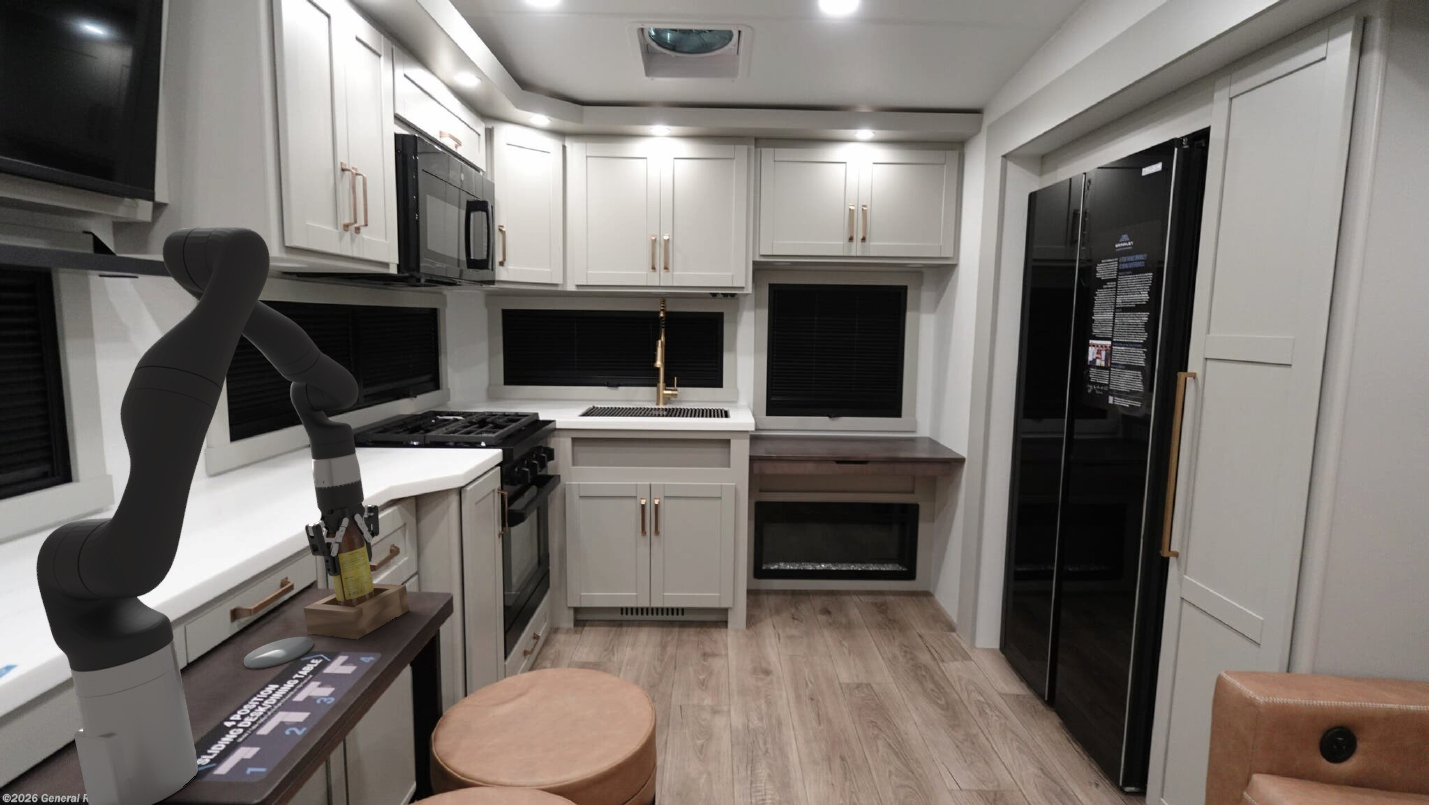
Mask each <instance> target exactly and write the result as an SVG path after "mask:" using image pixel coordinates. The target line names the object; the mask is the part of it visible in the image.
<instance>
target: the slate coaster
mask: <svg viewBox="0 0 1429 805" xmlns="http://www.w3.org/2000/svg"><path fill="white" fill-rule="evenodd" d="M313 646H314V640H313V639H312V638H311V637H308V636H294V637H287V638H283V639H279V640H276V641H273V642H269V643H266V644H264V645H262V646H260V647H257V648H256V649H254V650H252V651H250V652H249V653H248V654H247V655H246V656H245V657H244V658H243V664H244V666H245V668H247V669H253V670H255V669H257V670H258V669H265V668H267V669H268V668H273V667H275V666H279V665H283V664H285V663H288V662H291V661H294V660H296V659H298V658H300V657H302V656H304V655H305V654H307V653H308V652H310V651H311V649H312V648H313Z"/></svg>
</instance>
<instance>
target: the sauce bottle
mask: <svg viewBox="0 0 1429 805" xmlns="http://www.w3.org/2000/svg"><path fill="white" fill-rule="evenodd" d="M341 515H342V517H343V518H348V525H347V527H346V529H345V533H344V535H343V537H342V542H341V543H340V544H339V548H338V551H337V555H338V558H339V565H340V571H341V574H340V575H338V576H331V577H332V583H333V587H334V591H335V592H334V594H335V593H336V598H337V600H338V605H339V606H349V607H355V606H357V605H359V604H361V603H363V602H365V601H367V600H369V599H371V598H373V597H374V587H373V583H374V581H373V577H372V576H373V575H372V571H371V566H370V562H369V559H368V553H367V549H366V543H365V539H364V537H363V535H362V534H361V532H360V530H359V528H358V527H357V526H356V524H355V523H354V521H353V519H352V512H351V508H350V507H348V508H343V509H341ZM335 536H336V534H330V533H329V535H328V538H335ZM331 545H332V543H329V546H330V549H331Z"/></svg>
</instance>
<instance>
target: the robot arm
mask: <svg viewBox="0 0 1429 805" xmlns="http://www.w3.org/2000/svg"><path fill="white" fill-rule="evenodd" d="M162 258H163V263H164V266H165V269H166V270H167V272H168V273H169V275H170V277H171V278H172V279H173V280H174V282H176V283H177V284H178V285H179V286H180V287H181V288H182V289H183V290H185V291H186V292H187V293H188V294H190V295H191V296H192V297H193V298H195V300H197V301H198V302H197V304H196V305H195V307H193V309H192V310H191V311H190V312H189V313H188V314H187V315H185V317H184V318H182V320H180V321H179V322H178V323H177V324H176V325H174V326H173V327H172V328H171V329H170V330H168V331H167V332H166V333H164V334H163V335H162V336H161V337H160V338H159V339H158V340H156V341H155V342H154V343H153V344H151V346H150V347H149V348H148V349H147V351H145V352H144V354H143V355H142V356H141V358H139V361H138V362H137V364H136V366H135V368H134V370H133V372H132V375H131V378H130V380H129V383H128V384H127V388H126V390H125V392H124V395H123V398H122V401H121V406H120V415H119V416H120V423H121V429H122V433H123V436H124V437H123V438H124V440H125V444H126V447H127V452H128V456H129V463H130V464H129V475H128V478H127V479H128V480H127V483H126V484H125V488H124V491H123V493H122V495H121V496H122V497H121V498H120V499H121V500H120V502H119V504H118V506H117V509H116V511H115V512H114V514H113V516H112V517H102V518H101V517H100V518H85V519H78V520H75V521H70V522H68V523H67V522H66V523H65V524H63V525H61V526H59V527H58V528H56V529H54V530H53V531H52V532H51V533H50V534H49V535H47V536H46V538H45V540H44V541H43V543H42V544H41V547H40V548H39V551H38V554H37V557H36V559H37V560H36V567H35V568H36V581H37V585H38V589H39V592H40V594H39V595H40V598H41V601H42V604H43V608H44V613H45V615H46V619H47V623H48V625H49V629H50V633H51V635H52V639H53V640H54V642H55V644H56V646H57V647H58V648H59V650H60V651H62V653H63V654H64V655H65V656H66V657H67V660H68V666H69V668H70V672H71V677H72V683H73V686H74V691H75V696H76V697H75V698H76V701H77V707H78V712H79V717H80V721H81V726H82V728H80V729H78V730H77V731H76V732H74V739H75V740H74V741H75V745H76V749H77V756H78V759H79V764H80V770H81V773H82V778H83V784H84V788H85V789H84V790H85V793H86V797H87V803H88V805H154V804H156V803H158V802H161V801H163V800H164V799H166V798H168V797H170V796H172V795H173V794H176V793H177V792H178V791H180V790H181V789H183V788H184V787H185V786H186V785H185V784H186V783H188V782H189V781H190V780H191V779H192V778H193V777H194V776H196V775H197V773H198V772H199V765H198V760H197V751H196V748H195V743H194V737H193V733H192V732H193V731H192V727H191V722H190V716H189V711H188V707H187V701H186V695H185V689H184V685H183V679H182V673H181V670H180V664H179V657H178V651H177V648H176V642H175V637H174V631H173V626H172V623H171V620H170V618H169V617H168V616H167V615H166V614H165V613H162V612H160V611H158V610H156V609H154V608H152V607H150V606H148V605H147V604H145V603H144V602H143V601H142V600H141V599H140V598H139V597H142V596H145V595H147V594H149V593H151V592H152V591H153V590H155V589H156V588H157V587H159V585H161V583H163V581H164V579H166V577H167V575H168V574H169V572H170V570H171V568H172V566H173V564H174V561H175V558H176V555H177V552H178V549H179V544H180V540H181V535H182V529H183V526H184V519H185V515H186V509H187V505H188V502H189V501H188V500H189V495H190V492H191V487H192V483H193V479H194V476H195V473H196V469H197V465H198V463H199V460H200V456H201V453H202V449H203V445H204V442H205V439H206V437H207V434H208V430H209V428H210V425H211V423H212V420H213V417H214V416H215V414H216V413H215V412H216V409H217V406H218V403H219V400H220V397H221V394H222V392H223V388H224V383H225V381H226V378H227V374H228V371H229V368H230V366H231V363H232V360H233V357H234V355H235V351H236V349H237V347H238V344H239V342H240V338H241V336H243V337H245V338H246V339H247V340H248V341H249V342H251V343H252V345H254V346H255V348H257V349H258V350H259V351H260V352H261V353H262V355H263V356H264V357H265V358H266V360H268V361H269V362H270V364H272V366H273V367H274V368H275V369H276V370H277V372H278V373H279V374H281V376H282V377H283V378H285V379H286V380H287V381H290V382H292V383H291V385H290V390H289V391H290V393H289V394H290V399H291V400H290V401H291V403H292V405H293V407H294V409H295V411H296V413H297V415H298V416H299V419H300V421H301V424H302V426H303V427H304V429H305V432H306V435H307V437H308V440H309V448H310V453H311V454H310V455H311V458H312V459H311V460H312V463H311V464H312V470H311V472H312V477H313V479H312V480H313V485H314V486H313V487H314V491H315V498H316V505H317V508H318V510H319V512H320V514H321V515H320V518H319V521H317V522H315V523H307V524H305V527H304V529H305V534H306V537H307V541H308V544H309V548H310V552H311V555H312V556H313V557H322V558H323V561H324V566H325V572H326V574H327V575H328V576H330V577H332V576H338V575H340V574H341V571H340V565H339V558H338V555H337V551H338V548H339V544H340V543H341V542H342V537H343V535H344V533H345V529H346V527H347V525H348V518H343V517H342V515H341V509H343V508H348V507H350V508H351V512H352V519H353V521H354V523H355V524H356V526H357V527H358V528H359V530H360V532H361V534H362V535H363V537H364V539H365V543H366V549H367V553H368V559H369V563H371V562H372V558H373V550H372V541H373V539H374V538H375V537H378V536H379V535H380V521H379V520H380V519H379V517H380V516H379V514H380V513H379V506H378V505H377V504H366V505H363V502H364V500H365V494H364V488H363V482H362V476H361V467H360V462H359V460H358V456H357V451H356V450H357V449H356V444H355V438H354V430H353V428H352V426H351V425H350V424H349V423H347V422H343V421H334V420H331V419H329V417H328V416H327V415H326V413H325V412H324V411H326V412H327V411H335V410H345V409H348V408H350V407H352V406H353V405H354V404H356V401H357V400H358V399H359V387H358V386H359V385H358V383H357V380H356V379H355V377H354V376H353V374H352V373H351V372H350V371H349V370H348V369H346V367H344V366H343V365H341V364H340V363H339V362H337V361H335V359H332V358H331V357H330V356H328V355H327V354H324V353H323V352H322V351H321V350H320V349H319V347H318V346H317V345H316V344H315V343H314V341H313V340H312V339H311V337H310V336H309V335H308V334H307V332H306V331H305V330H304V329H303V328H302V327H301V326H300V325H298V324H297V323H296V322H295V321H293V320H292V319H291V318H289V317H287V316H285V314H284V315H283V314H282V313H281V312H279V311H277V310H275V309H274V308H272V307H270V306H268V305H267V304H265V303H263V302H261V301H260V300H259V297H260V296H261V293H262V292H263V290H264V287H265V286H266V282H267V279H268V276H269V271H270V263H271V262H270V252H269V247H268V245H267V243H266V241H265V240H264V238H263V237H262V235H260V234H259V233H258V232H257V231H255V230H252V229H251V228H248V227H242V226H196V227H194V226H192V227H183V228H179V229H175V230H174V231H172V232H170V233H169V234H168V236H166V238H165V240H164V242H163V246H162ZM329 533H330V534H336V536H335V538H328V535H329ZM329 543H332V545H331V549H330V546H329ZM194 778H195V777H194ZM194 778H193V779H194ZM193 779H192V780H193ZM192 780H191V781H192ZM191 781H190V782H191ZM190 782H189V783H190ZM189 783H188V784H189ZM184 785H185V786H184ZM183 786H184V787H183Z"/></svg>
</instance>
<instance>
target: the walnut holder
mask: <svg viewBox="0 0 1429 805" xmlns="http://www.w3.org/2000/svg"><path fill="white" fill-rule="evenodd" d="M373 587H374V597H373V598H371V599H369V600H367V601H365V602H363V603H361V604H359V605H357V606H355V607H349V606H339V605H338V600H337V598H336V593H335V592H334V593H333V594H331V595H328V596H326V597H324V598H322V599H319V600H318V601H317V600H316V601H315V602H314V603H311V604H309V605H307V606H305V607H303V611H304V612H303V613H304V618H305V619H304V620H305V624H306V630H307V634H308V635H312V634H318V635H317V636H321V635H327V636H326V637H331V636H334V637H333V638H342V639H343V638H344V639H351V640H359V639H361V638H362V637H364V636H366V635H369V633H372V632H373V631H375V630H377V629H379V628H380V627H382V626H384V625H386V624H388V623H389V622H391V621H393V620H395V619H396V618H395V617H397V618H398V617H400V616H403V615H404V614H406V613H407V612H409V611H410V604H409V598H408V593H407V591H408V590H407V585H406V584H405V585H404V584H389V583H375V582H373ZM394 618H395V619H394ZM392 619H393V620H392ZM390 620H391V621H390ZM387 622H388V623H387Z"/></svg>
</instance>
